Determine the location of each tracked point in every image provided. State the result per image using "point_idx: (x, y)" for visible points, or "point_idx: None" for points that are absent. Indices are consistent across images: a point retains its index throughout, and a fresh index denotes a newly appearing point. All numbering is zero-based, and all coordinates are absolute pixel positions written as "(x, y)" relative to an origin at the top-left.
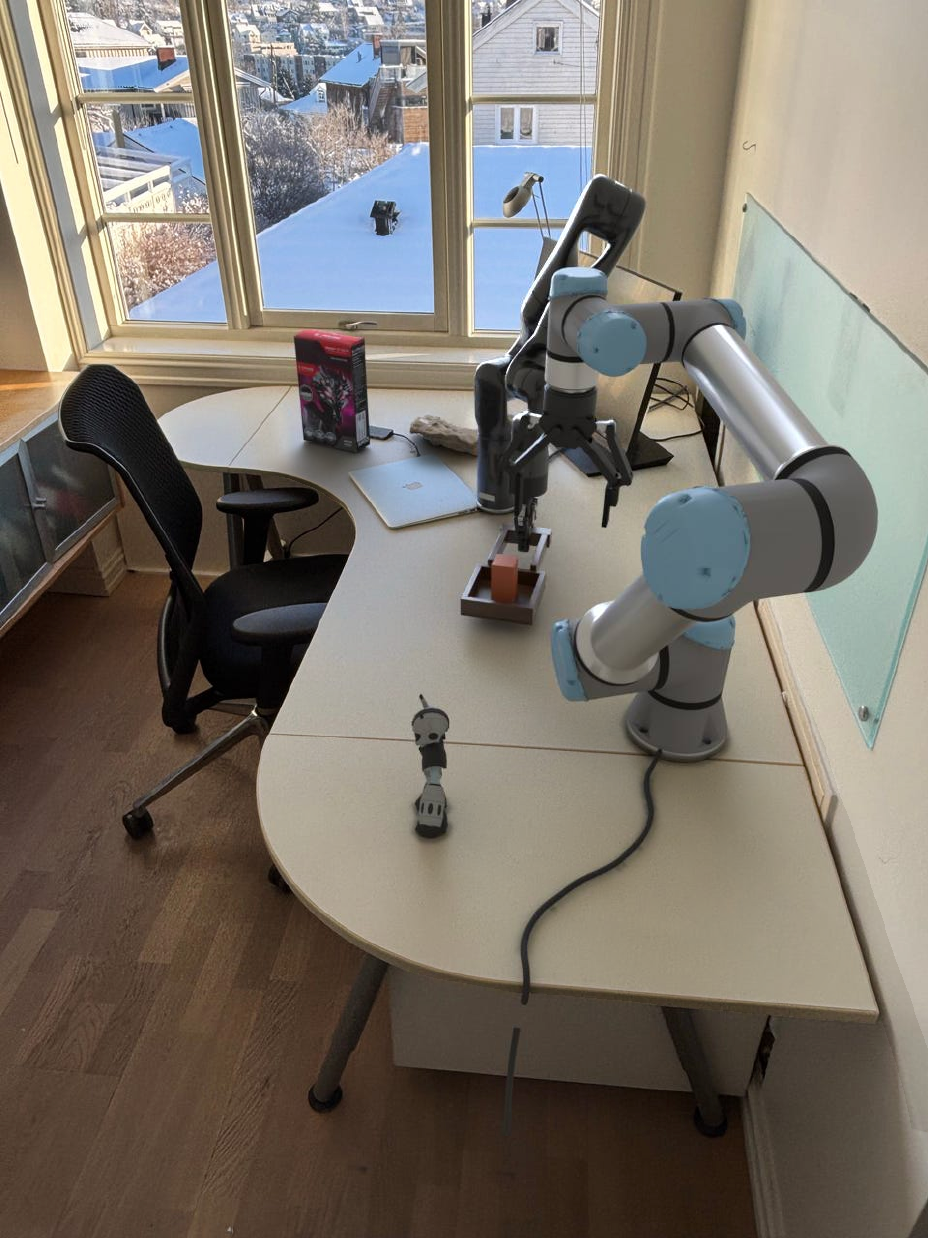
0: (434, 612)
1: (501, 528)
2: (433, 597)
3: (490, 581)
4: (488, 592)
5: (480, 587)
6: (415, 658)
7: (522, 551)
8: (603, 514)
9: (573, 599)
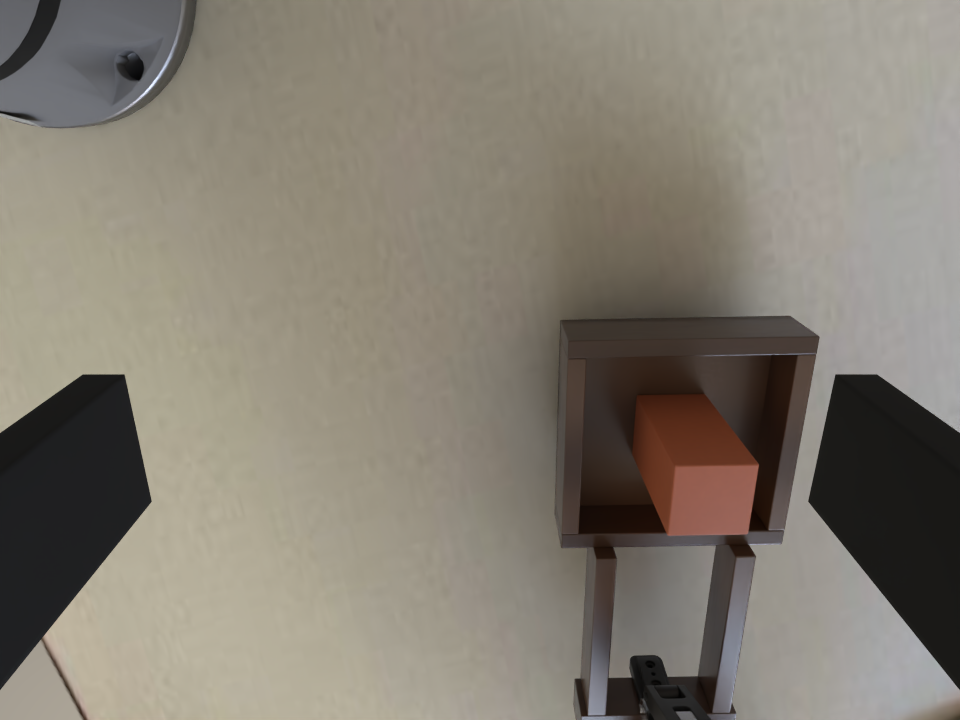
0: (855, 359)
1: (732, 714)
2: None
3: None
4: None
5: None
6: (893, 110)
7: (647, 656)
8: (45, 432)
9: (473, 514)
